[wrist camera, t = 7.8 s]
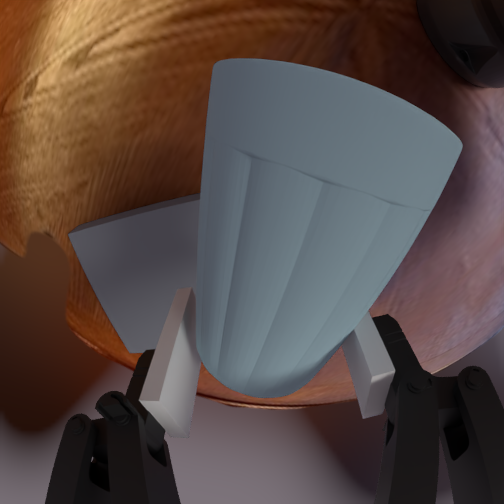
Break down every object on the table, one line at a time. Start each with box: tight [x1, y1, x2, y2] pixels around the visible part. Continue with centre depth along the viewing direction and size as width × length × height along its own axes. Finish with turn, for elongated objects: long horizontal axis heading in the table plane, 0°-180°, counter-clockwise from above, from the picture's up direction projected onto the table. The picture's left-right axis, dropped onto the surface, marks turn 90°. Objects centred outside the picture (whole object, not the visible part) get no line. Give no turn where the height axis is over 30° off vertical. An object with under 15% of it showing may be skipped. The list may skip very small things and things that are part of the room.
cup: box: [196, 58, 463, 398], centre depth 10 cm, size 8×8×10 cm
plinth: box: [68, 193, 200, 353], centre depth 31 cm, size 18×17×2 cm
